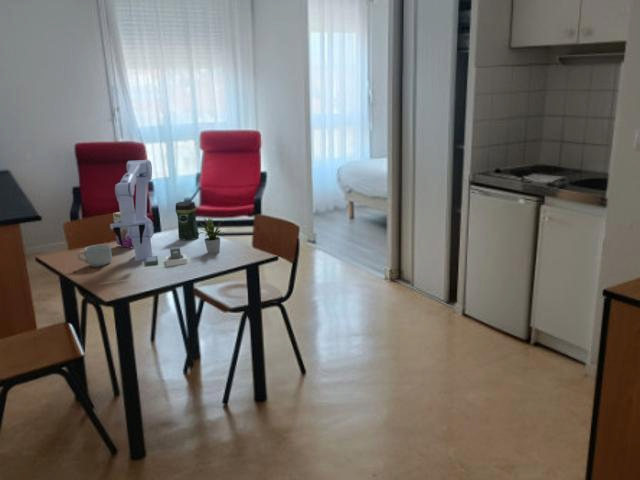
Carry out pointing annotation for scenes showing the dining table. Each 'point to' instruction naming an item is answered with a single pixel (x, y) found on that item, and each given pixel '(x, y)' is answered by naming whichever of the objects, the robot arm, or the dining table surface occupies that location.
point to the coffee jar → (187, 220)
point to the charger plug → (175, 253)
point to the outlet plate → (168, 262)
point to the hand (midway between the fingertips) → (131, 244)
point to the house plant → (211, 237)
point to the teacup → (96, 255)
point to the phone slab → (151, 260)
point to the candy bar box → (123, 232)
